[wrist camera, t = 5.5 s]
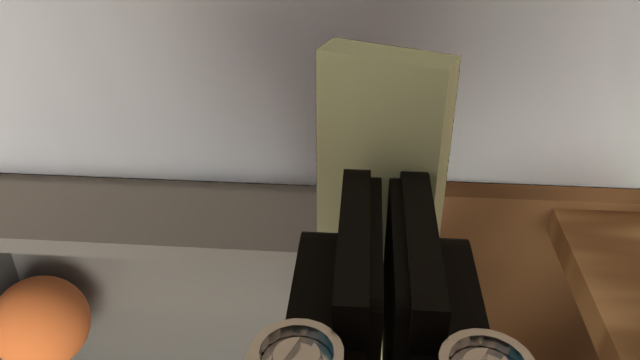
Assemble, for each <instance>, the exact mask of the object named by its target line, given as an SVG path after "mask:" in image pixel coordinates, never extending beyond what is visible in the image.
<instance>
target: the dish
mask: <svg viewBox="0 0 640 360" xmlns="http://www.w3.org/2000/svg"><path fill="white" fill-rule="evenodd" d="M302 231H306V232H317V186H304V185H279V184H254V183H229V182H205V181H180V180H155V179H131V178H106V177H81V176H56V175H32V174H7V173H0V296H1V295H2V294H3V293H4V292H5V291H6V290H7V289H8V288H9V287H11V286H12V285H14V284H15V283H17V282H19V281H21V280H24V279H27V278H30V277H34V276H45V275H46V276H55V277H59V278H62V279H65V280H67V281H69V282H70V283H72V284H73V285H75V286H76V287H77V288H78V289H79V290H80V291H81V292H82V293H83V295H84V296H85V298H86V300H87V302H88V304H89V307H90V312H91V326H90V331H89V334H88V337H87V339H86V341H85V343H84V345H83V346H82V348H81V349H80V350H79V352H78V353H77V354H76V355H75V356H74V357H73V358H71V359H70V360H244V358H245V356H246V353H247V351H248V349H249V347H250V344H251V343H252V341H253V340H254V338H255V337H256V335H257V334H258V333H259V332H260V331H262V330H263V329H264V328H266V327H267V326H269V325H271V324H273V323H276V322H278V321H281V320H285V319H286V313H287V308H288V302H289V296H290V291H291V285H292V280H293V274H294V269H295V263H296V258H297V252H298V246H299V241H300V236H301V232H302ZM0 360H2V359H1V358H0Z"/></svg>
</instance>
